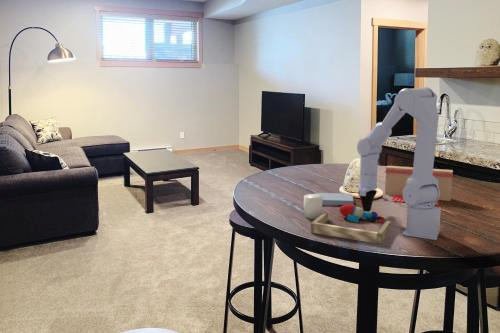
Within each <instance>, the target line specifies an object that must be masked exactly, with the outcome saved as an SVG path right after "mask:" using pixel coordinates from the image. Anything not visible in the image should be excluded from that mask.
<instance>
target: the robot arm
mask: <svg viewBox="0 0 500 333" xmlns="http://www.w3.org/2000/svg"><path fill="white" fill-rule="evenodd" d="M437 101H438V95H437V94H436V92H435V91H434V90H433V89H432V88H430V87H419V88H417V87H416V88H408V87H407V88H402V89H401V90H399V92H398V94H397V95H396V96H395V97H394V103H393V105H392V106H391V108H390V110H389V111H388V112H387V114H386V115H385V117H384V119H383V121H379V122H377V123H375V124H373V128H371V130H370V131H369V133H367V135H366V137H364V138H360V139H359V140H358V142H357V144H356V148H357V152H358V154H359V155H360V156H359V158H360V160H359V164H360V165H359V183H356V184H355V187H357V188H359V190H358V191H357V194H358V196H359V199H360V201H361V205H362V206H361V207H362V210H363V211H364V212H368V213H371V210H372V206H373V202H374V198H375V197H376V195H377V193H378V191H377V189H378V184H377V183H378V182H377V181H378V161H379V159H380V154H381V153H382V150H383V145H384V143H385V142H386V141H387V140H388V139H389V137H390V136H391V135H392V132H393V131H392V128H393V127H394V126H395V125H396V124H397V123H398V122H399V121H400V120H401V118H403V117H404V115H405V114H409V115H410V116H411V117H413V119H415V121H416V122H417V124H416V134H415V135H416V136H415V145H414V147H415V148H414V155H413V174H412V175H411V176H410V177H409V178H408V179H407V181H406V186H405V188H404V190H403V199H404V201H405V202H404V203H405V205H406V206H407V210H406V211H407V212H406V224H405V225H406V227H405V230H404V231H403V232H402V235H403V236H407V237H411V238H421V239H425V240H433V241H436V240H438V236H439V234H440V232H441V210H442V209H441V208H440V207H438V206H436V205H435V202H436V201H437V200H438V199H439V196H440V191H439V187H438V180H437V179H436V178H435V177H434V176H433V169H434V163H435V156H436V155H435V154H436V146H437V145H436V144H437V136H438V127H439V126H438V125H439V120H440V119H439V112H438V107H437Z"/></svg>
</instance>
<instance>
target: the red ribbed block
mask: <svg viewBox="0 0 500 333" xmlns="http://www.w3.org/2000/svg"><path fill="white" fill-rule="evenodd" d="M384 173H385V184H384V185H385V186H384V195H385V194H386V195H385V196H393V197H392V198H391V201H393V203H394V202H397V203H399V202H400V203H403V202H404V203H405V201H404V199H403V190H404V188H405V186H406V181H407V179H408V178H409V177H410V176H411V175H412V174H413V167H412V166H411V167H410V166H399V165H398V166H397V165H387V166H386V167H385V171H384ZM453 173H454V171H453V169H440V168H433V176H434V177H435V178H436V179H437V180H438V187H439V191H440V196H439V199H438V200H437V201H436V202H435V205H434V206H436V207H438V206H439V201H447V202H448V201H449V202H451V199H452V198H451V197H452V186H453V178H454V175H453Z"/></svg>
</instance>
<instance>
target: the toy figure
mask: <svg viewBox="0 0 500 333" xmlns="http://www.w3.org/2000/svg"><path fill="white" fill-rule="evenodd" d="M339 213H340V214H341V215H342V216H343V217H345V218H346V220H347V221H350V222H354V223H359V222H360V221H359V220H360V219H362V218H363V219H366V220H369V221H370V222H372V223H376V222H377V223H379V224H384V223H385V217H384V216H381V215H378V214H379V213H377V212H376V211H372V212H367V211H363V208H361V207H359V206H357V205H355V204H354V205H351V204H347V205H343V206H339ZM377 220H378V221H377Z"/></svg>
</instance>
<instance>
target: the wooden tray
mask: <svg viewBox="0 0 500 333" xmlns="http://www.w3.org/2000/svg"><path fill="white" fill-rule="evenodd" d="M328 221H329V212H328V211H324V212H322V215H320V216H319V217H318V218H317V219H313V221H312V222H311V223H310V233H313V234H317V235H318V234H319V235H324V236H329V237H330V236H331V237H335V238H336V237H337V238H341V239H342V238H343V239H347V240H354V241H355V240H356V241H361V242H367V243H373V244H376V245H377V244H378V245H382V243H383V241H384V240H385V238H386V236H388V234H389V232H390V231H391V221H390V220H386V221H384V223H383V224H382V226H381V227H380V229H379V230H378V231H373V230H372V231H371V230H365V229H358V228H353V227H346V226H340V225H333V224H327V222H328Z"/></svg>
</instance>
